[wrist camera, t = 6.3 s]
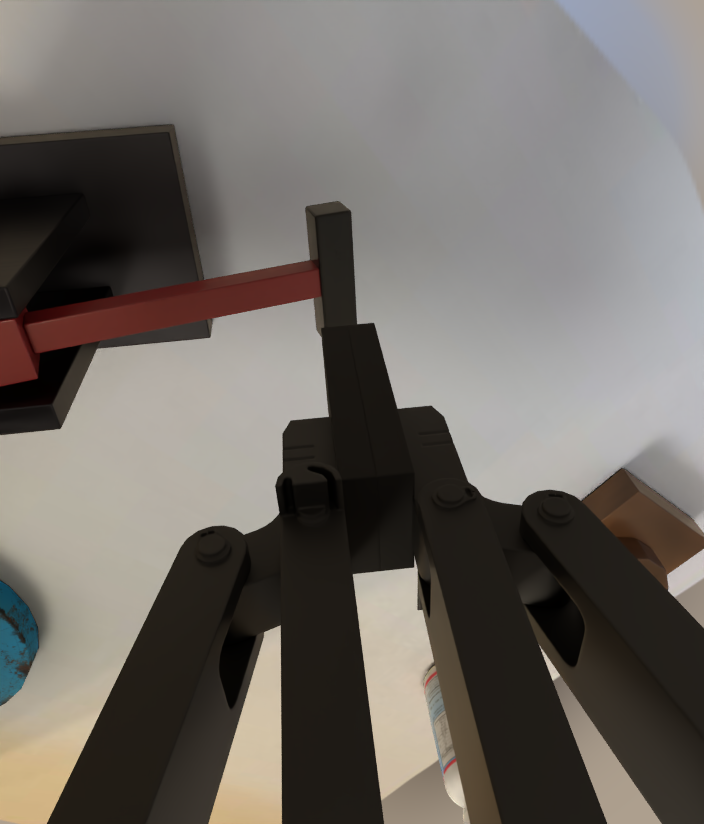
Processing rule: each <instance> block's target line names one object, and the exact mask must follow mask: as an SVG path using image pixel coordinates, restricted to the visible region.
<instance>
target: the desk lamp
mask: <svg viewBox="0 0 704 824" xmlns="http://www.w3.org/2000/svg"><path fill="white" fill-rule="evenodd" d="M37 650H38V627H37V625H36V623H35V620H34V618H33V616H32V614H31V612H30V610H29V608H28V606H27V605H26V604H25V603H24V602H23V601H22V600H21V599H20V598H19V597H18V595H17V594H16V593H15V592H14V591H13V590H12V589H11V588H10V587H9V586H8V585H6V584H5V583H3V582H2V581H0V706H1V705H3V704H5V703H6V702H7V701H8V700H9V699H11V698H12V697H13V696H14V695H15V694H16V693H17V692H18V691H19V690H20V689H21V688H22V686H23V683H24V681H25V679H26V677H27V675H28V672H29V670H30V668H31V665H32V663H33V660H34V658H35V655H36V653H37Z"/></svg>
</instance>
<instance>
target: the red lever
mask: <svg viewBox="0 0 704 824" xmlns="http://www.w3.org/2000/svg"><path fill="white" fill-rule="evenodd" d="M305 211H306V221H307V232H308V243H309V253H310V260H309V261H304V262H298V263H293V264H287V265H282V266H277V267H271V268H266V269H260V270H255V271H249V272H244V273H239V274H233V275H228V276H222V277H217V278H211V279H206V280H201V281H195V282H190V283H184V284H179V285H173V286H168V287H163V288H157V289H152V290H146V291H141V292H136V293H130V294H125V295H119V296H114V297H108V298H103V299H98V300H92V301H87V302H81V303H76V304H70V305H65V306H60V307H54V308H49V309H43V310H38V311H32V312H28V311H27V308H26V307H25V309H24V310H23V311H22V313H21V314H20V316H19V317H18V318H12V319H1V320H0V387H1V386H6V385H11V384H15V383H20V382H25V381H30V380H34V379H38V372H39V360H40V353H42V352H47V351H52V350H57V349H62V348H67V347H72V346H77V345H82V344H87V343H92V342H97V341H102V340H107V339H112V338H117V337H122V336H127V335H132V334H137V333H142V332H147V331H152V330H157V329H162V328H167V327H172V326H177V325H182V324H187V323H192V322H197V321H202V320H207V319H212V318H217V317H222V316H227V315H232V314H237V313H242V312H247V311H252V310H257V309H262V308H267V307H272V306H277V305H282V304H287V303H292V302H297V301H302V300H307V299H312V298H314V307H315V318H316V328H317V331H318V333H319V334H320V336H321V337H322V334H321V328H324V327H335V326H346V325H357V314H356V295H355V276H354V257H353V238H352V219H351V211H350V210H349V209H348V208H347V207H346V206H344V205H343V204H342V203H341V202H339V201H335V202H329V203H323V204H317V205H310V206H307V207H306V208H305Z"/></svg>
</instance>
